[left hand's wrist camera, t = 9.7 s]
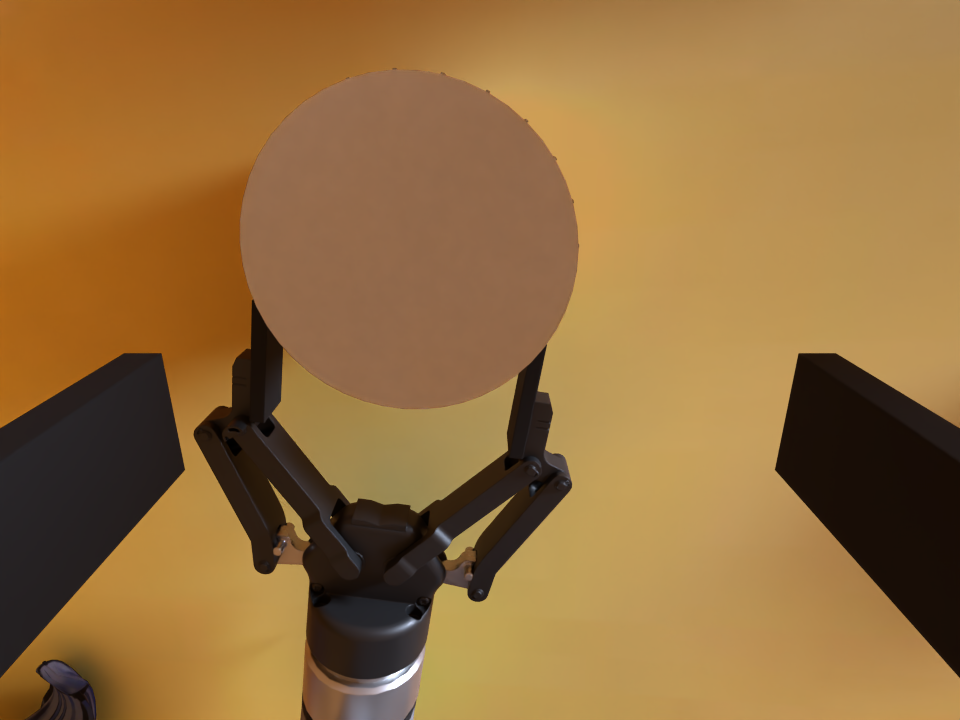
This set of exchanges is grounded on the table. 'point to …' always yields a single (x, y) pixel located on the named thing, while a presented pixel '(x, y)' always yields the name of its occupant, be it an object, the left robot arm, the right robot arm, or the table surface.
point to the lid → (409, 239)
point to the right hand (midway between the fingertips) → (404, 314)
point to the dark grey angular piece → (65, 694)
